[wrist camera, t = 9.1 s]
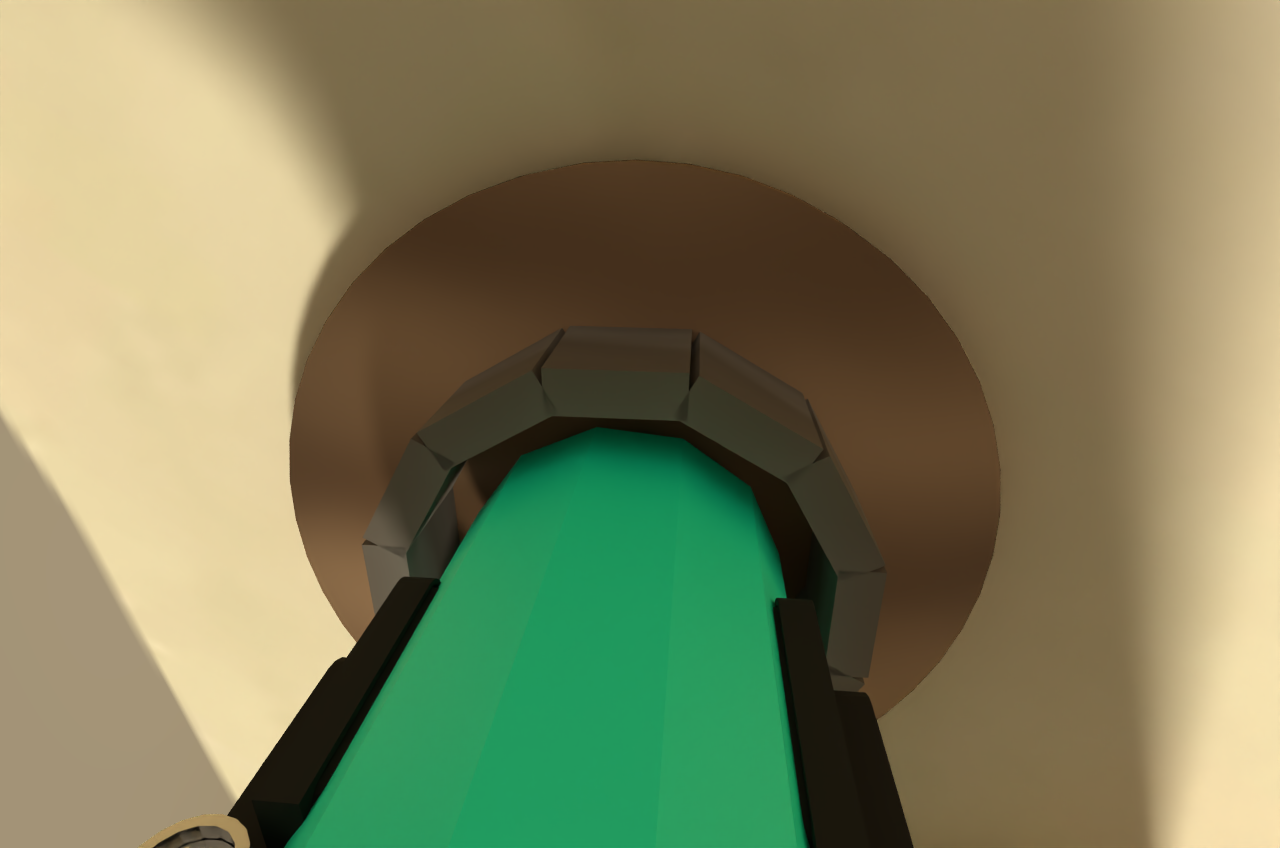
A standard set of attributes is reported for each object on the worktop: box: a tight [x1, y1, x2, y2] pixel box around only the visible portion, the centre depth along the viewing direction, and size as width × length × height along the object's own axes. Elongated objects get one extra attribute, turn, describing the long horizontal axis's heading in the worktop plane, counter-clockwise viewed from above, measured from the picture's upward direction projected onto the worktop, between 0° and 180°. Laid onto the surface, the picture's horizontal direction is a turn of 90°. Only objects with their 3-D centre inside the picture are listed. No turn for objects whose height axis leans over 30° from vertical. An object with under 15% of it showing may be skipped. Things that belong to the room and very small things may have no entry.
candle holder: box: [290, 160, 1000, 720], centre depth 14 cm, size 15×15×4 cm
